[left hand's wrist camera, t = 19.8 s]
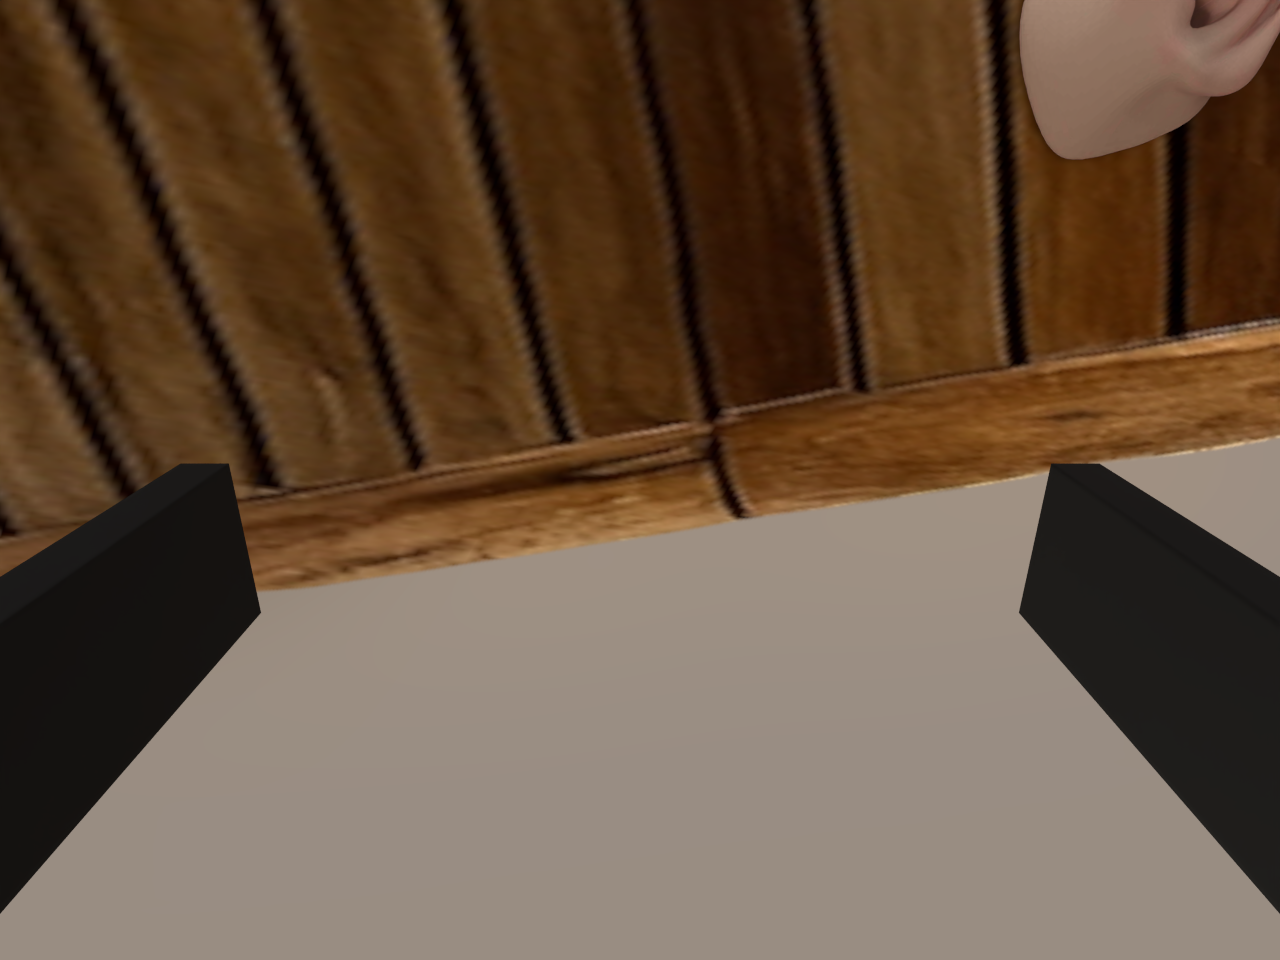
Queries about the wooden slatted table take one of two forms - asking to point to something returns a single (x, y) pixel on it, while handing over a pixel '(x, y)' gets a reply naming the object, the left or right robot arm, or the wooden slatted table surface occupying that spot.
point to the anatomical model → (1135, 65)
